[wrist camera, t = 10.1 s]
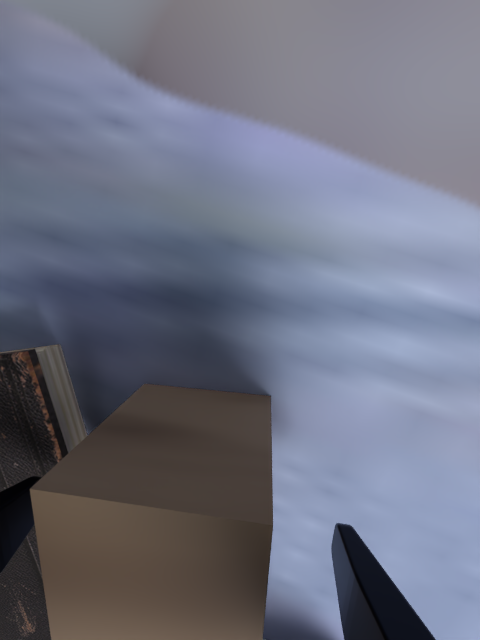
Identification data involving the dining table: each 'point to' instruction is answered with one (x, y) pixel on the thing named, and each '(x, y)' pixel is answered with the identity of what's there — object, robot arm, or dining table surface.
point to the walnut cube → (161, 521)
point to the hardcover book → (32, 468)
